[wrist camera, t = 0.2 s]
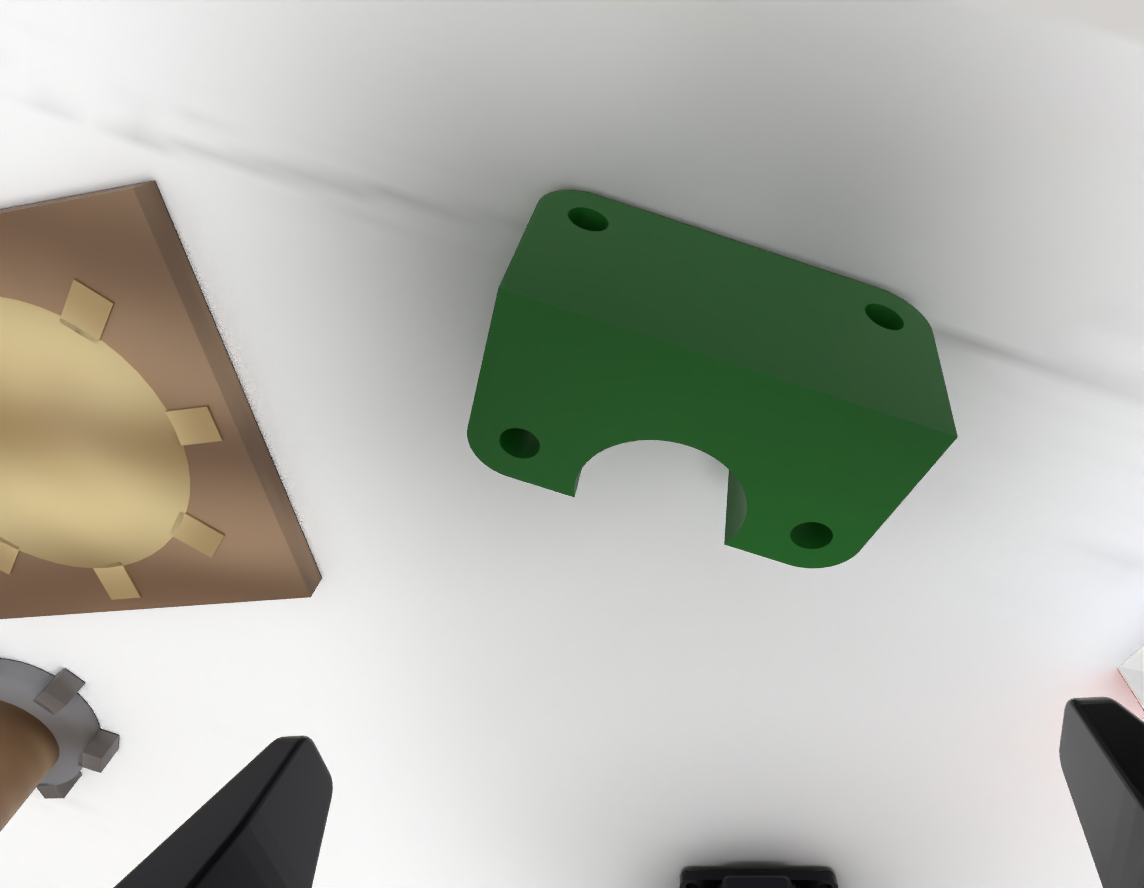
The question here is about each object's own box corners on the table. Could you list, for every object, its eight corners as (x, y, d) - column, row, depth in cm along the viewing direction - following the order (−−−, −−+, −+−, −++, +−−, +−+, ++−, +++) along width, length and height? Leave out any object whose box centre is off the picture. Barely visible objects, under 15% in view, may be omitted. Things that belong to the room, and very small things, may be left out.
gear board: (321, 578, 29) (309, 598, 28) (-6, 603, 31) (-28, 622, 30) (154, 180, 22) (130, 189, 21) (-242, 255, 25) (-280, 265, 24)
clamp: (583, 303, 27) (412, 427, 21) (632, 149, 23) (439, 250, 17) (882, 489, 24) (777, 688, 18) (995, 351, 20) (907, 549, 14)
